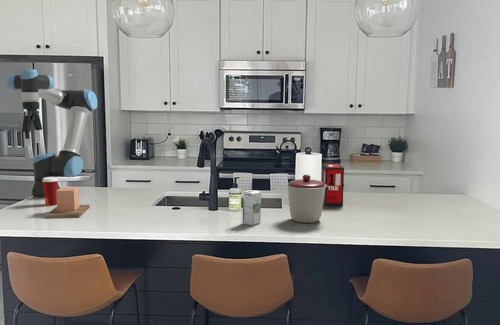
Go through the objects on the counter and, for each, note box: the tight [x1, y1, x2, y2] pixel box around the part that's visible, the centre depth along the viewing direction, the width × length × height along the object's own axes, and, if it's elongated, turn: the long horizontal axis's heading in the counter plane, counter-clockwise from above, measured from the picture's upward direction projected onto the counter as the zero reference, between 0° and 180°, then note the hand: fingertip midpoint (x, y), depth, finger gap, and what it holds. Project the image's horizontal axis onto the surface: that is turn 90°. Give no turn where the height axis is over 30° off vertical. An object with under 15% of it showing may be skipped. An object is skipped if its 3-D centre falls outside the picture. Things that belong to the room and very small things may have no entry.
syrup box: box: [242, 189, 262, 227], centre depth 201 cm, size 6×6×14 cm
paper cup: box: [42, 177, 59, 207], centre depth 236 cm, size 8×8×14 cm
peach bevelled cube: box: [56, 186, 80, 212], centre depth 220 cm, size 8×8×10 cm
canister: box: [285, 174, 327, 224], centre depth 206 cm, size 18×18×21 cm
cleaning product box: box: [321, 162, 345, 207], centre depth 242 cm, size 16×9×20 cm, turn 179°
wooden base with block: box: [44, 203, 90, 219], centre depth 220 cm, size 20×15×10 cm
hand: (33, 144), depth 229 cm, fingers open, 13 cm apart
